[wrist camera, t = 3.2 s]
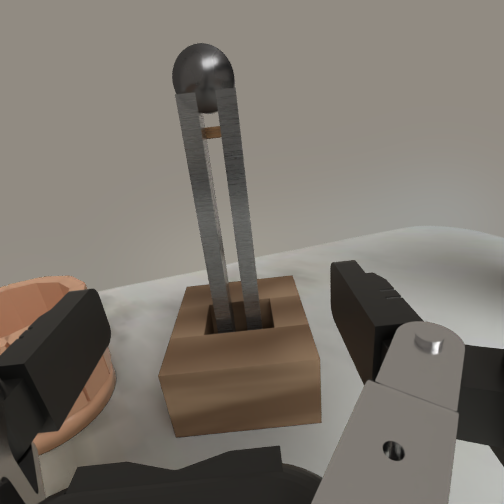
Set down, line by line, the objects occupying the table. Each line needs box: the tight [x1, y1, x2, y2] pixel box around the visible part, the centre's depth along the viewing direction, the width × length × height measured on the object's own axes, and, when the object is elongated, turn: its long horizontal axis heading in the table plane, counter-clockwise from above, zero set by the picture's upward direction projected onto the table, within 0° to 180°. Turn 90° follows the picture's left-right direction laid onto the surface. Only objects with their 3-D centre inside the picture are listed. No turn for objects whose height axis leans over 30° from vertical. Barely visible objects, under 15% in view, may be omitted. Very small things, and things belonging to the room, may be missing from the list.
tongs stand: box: [158, 276, 322, 438], centre depth 23 cm, size 10×9×5 cm
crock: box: [0, 276, 116, 455], centre depth 21 cm, size 9×9×8 cm
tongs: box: [172, 43, 262, 334], centre depth 20 cm, size 3×3×21 cm
